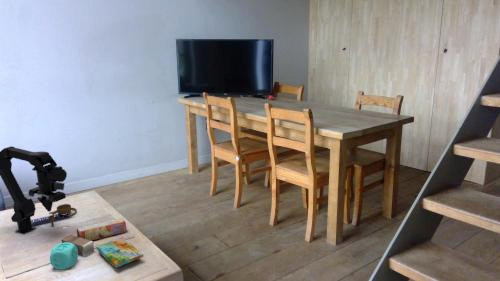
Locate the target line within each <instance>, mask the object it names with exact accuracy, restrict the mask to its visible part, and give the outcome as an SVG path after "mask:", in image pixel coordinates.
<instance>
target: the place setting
mask: <svg viewBox="0 0 500 281" xmlns="http://www.w3.org/2000/svg"><path fill="white" fill-rule="evenodd" d="M72 211H74V212H73V213H71V212H72ZM77 211H78V210H77V208H76V207H75V208H74V207H72V204H69V203H64V204H60V205H58V206H56V210H54V211H50V212H48V214H49V216H48V220H49V222H50V224H51V227H52V228H53V227H55V224H54V222H55V218H54V216H55V215H56V214H59V215H60V214H66V213H67V214H68V213H69V214H68V215H66V216H71V217H73V216H74V215H76V214H77V213H78V212H77ZM70 213H71V214H70ZM54 214H55V215H54ZM62 216H63V217H64V216H65V215H62Z"/></svg>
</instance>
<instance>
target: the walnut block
mask: <svg viewBox="0 0 500 281" xmlns="http://www.w3.org/2000/svg"><path fill="white" fill-rule="evenodd" d="M65 242H69V243H72V244H74V245H75V246H76V247H77V249H78V256H80V257H83V258H87V257H88V256H90V255H92V254H93V253H95V247H94V240H92V241H90V240H87V239H83V238H80V237H78V236H76V235H73V234H70V235H67V236H66V237H63V238H62V239H61V243H65Z"/></svg>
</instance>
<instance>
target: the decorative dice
mask: <svg viewBox="0 0 500 281" xmlns="http://www.w3.org/2000/svg"><path fill="white" fill-rule="evenodd" d="M50 251H51V252H50V254H49V262H50V265H51V266H52V267H53V268H54V269H56V270H61V271H62V270H67V269H71V268H72V267H74V266H75V265H76V263H77V262H78V257H79V255H78V249H77V247H76V246H75V245H74V244H72V243H69V242H65V243H62V242H61V243H57V244H56V245H54V246H53V248H52V249H51V250H50Z"/></svg>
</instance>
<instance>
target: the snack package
mask: <svg viewBox="0 0 500 281" xmlns="http://www.w3.org/2000/svg"><path fill="white" fill-rule="evenodd" d="M126 232H127V223H126V220H125V219H124V218H121V217H120V218H116V219H112V220H107V221H102V222H99V223H95V224H91V225H85V226H81V227H77V228H76V235H77V237H80V238H83V239H87V240H90V241H95V240H99V239H103V238H107V237H110V236H115V235H119V234H123V233H126Z"/></svg>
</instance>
